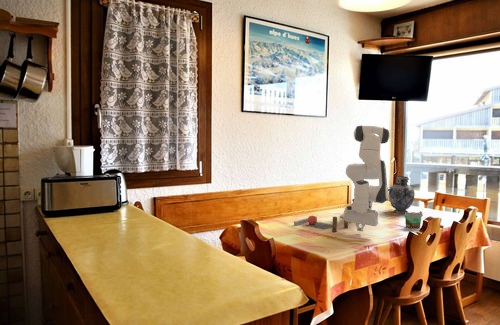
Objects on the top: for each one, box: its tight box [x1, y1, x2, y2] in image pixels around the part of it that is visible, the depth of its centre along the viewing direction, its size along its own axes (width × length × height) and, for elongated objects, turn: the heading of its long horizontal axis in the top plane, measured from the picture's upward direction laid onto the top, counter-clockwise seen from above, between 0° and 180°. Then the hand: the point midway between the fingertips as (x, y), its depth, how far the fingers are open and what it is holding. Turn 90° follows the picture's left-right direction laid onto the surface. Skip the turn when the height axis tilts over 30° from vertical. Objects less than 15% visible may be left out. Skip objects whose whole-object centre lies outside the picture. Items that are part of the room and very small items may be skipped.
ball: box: [307, 215, 318, 225], centre depth 244 cm, size 6×6×6 cm
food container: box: [404, 210, 424, 229], centre depth 241 cm, size 12×6×10 cm, turn 105°
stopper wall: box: [293, 215, 318, 227], centre depth 249 cm, size 2×24×2 cm, turn 138°
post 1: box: [331, 216, 338, 233], centre depth 226 cm, size 3×3×9 cm
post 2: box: [343, 219, 349, 229], centre depth 237 cm, size 3×3×9 cm
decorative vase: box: [388, 175, 415, 214], centre depth 292 cm, size 21×19×28 cm
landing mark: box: [305, 221, 332, 230], centre depth 241 cm, size 14×14×1 cm
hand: (360, 231), depth 223 cm, fingers closed
